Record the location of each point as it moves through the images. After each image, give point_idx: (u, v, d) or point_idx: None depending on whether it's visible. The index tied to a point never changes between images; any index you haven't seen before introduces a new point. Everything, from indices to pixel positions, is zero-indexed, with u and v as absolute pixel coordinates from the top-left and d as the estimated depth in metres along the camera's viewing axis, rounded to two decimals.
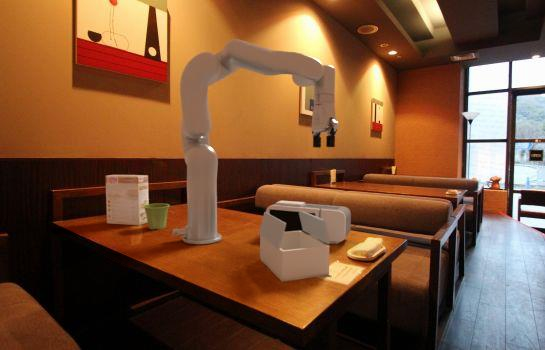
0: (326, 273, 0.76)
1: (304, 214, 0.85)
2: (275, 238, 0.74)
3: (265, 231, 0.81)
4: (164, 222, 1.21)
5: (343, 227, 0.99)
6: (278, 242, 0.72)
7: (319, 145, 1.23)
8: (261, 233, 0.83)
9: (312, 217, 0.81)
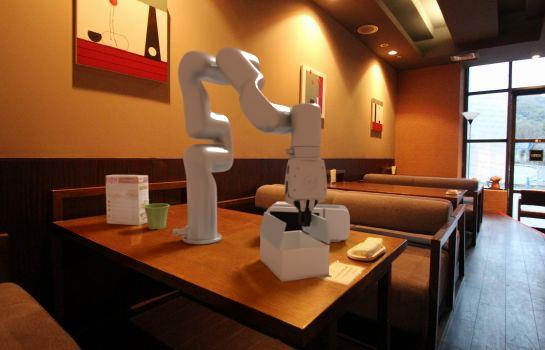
0: (326, 273, 0.76)
1: None
2: (275, 238, 0.74)
3: (265, 231, 0.81)
4: (164, 222, 1.21)
5: (348, 225, 1.02)
6: (278, 242, 0.72)
7: None
8: (261, 233, 0.83)
9: (314, 216, 0.81)
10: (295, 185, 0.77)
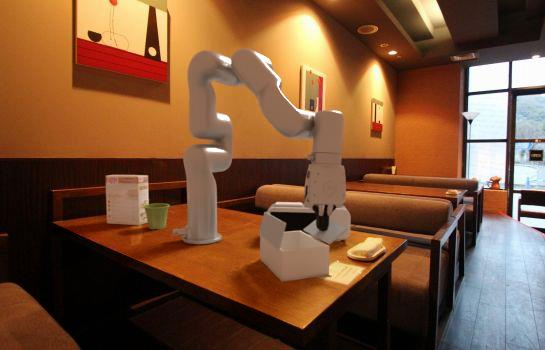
0: (326, 273, 0.76)
1: None
2: (275, 238, 0.74)
3: (265, 231, 0.81)
4: (164, 222, 1.21)
5: (348, 224, 1.03)
6: (278, 242, 0.72)
7: None
8: (261, 233, 0.83)
9: (333, 223, 0.83)
10: (315, 190, 0.79)
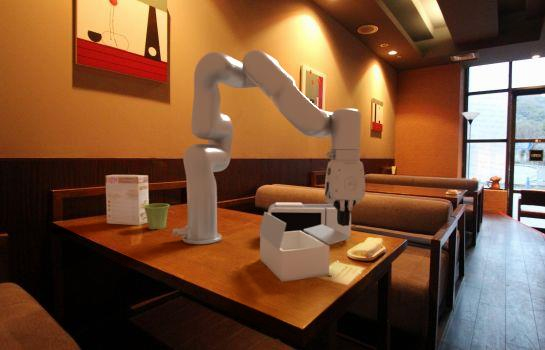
0: (326, 273, 0.76)
1: (327, 227, 0.88)
2: (275, 238, 0.74)
3: (265, 231, 0.81)
4: (164, 222, 1.21)
5: (349, 224, 1.04)
6: (278, 242, 0.72)
7: None
8: (261, 233, 0.83)
9: (336, 231, 0.83)
10: (337, 186, 0.81)
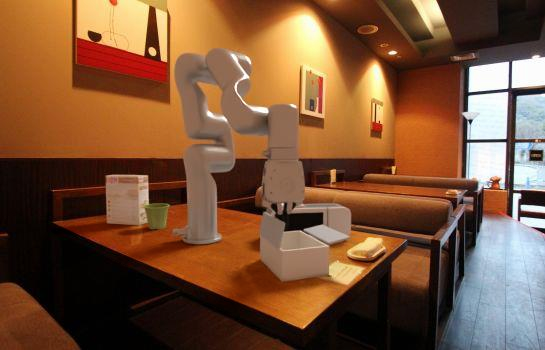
0: (326, 273, 0.76)
1: (327, 227, 0.88)
2: (275, 238, 0.74)
3: (265, 231, 0.81)
4: (164, 222, 1.21)
5: (349, 222, 1.06)
6: (277, 242, 0.72)
7: None
8: (261, 233, 0.83)
9: (336, 231, 0.83)
10: (272, 188, 0.75)
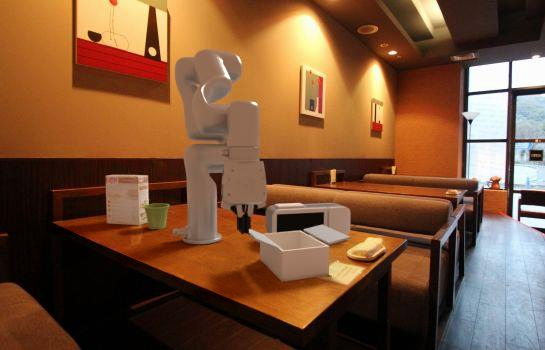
0: (326, 273, 0.76)
1: (327, 227, 0.88)
2: None
3: None
4: (164, 222, 1.21)
5: (349, 221, 1.07)
6: (272, 247, 0.72)
7: None
8: (259, 235, 0.83)
9: (336, 231, 0.83)
10: (229, 189, 0.71)
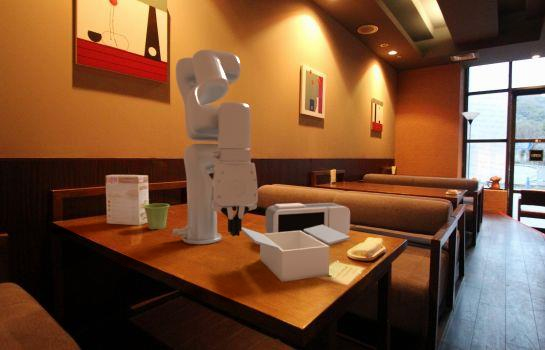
0: (326, 273, 0.76)
1: (327, 227, 0.88)
2: None
3: None
4: (164, 222, 1.21)
5: (348, 221, 1.08)
6: (272, 247, 0.72)
7: None
8: None
9: (336, 231, 0.83)
10: (220, 191, 0.71)
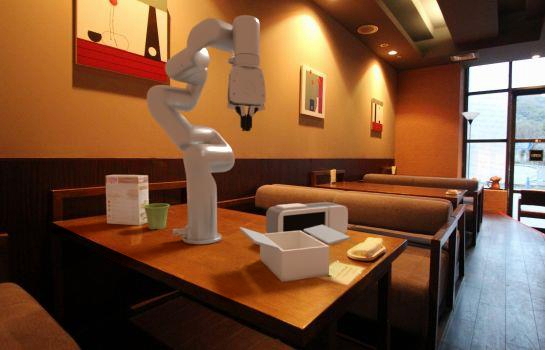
0: (326, 273, 0.76)
1: (327, 227, 0.88)
2: None
3: None
4: (164, 222, 1.21)
5: (347, 219, 1.10)
6: (272, 247, 0.72)
7: None
8: None
9: (336, 231, 0.83)
10: (234, 89, 0.85)
